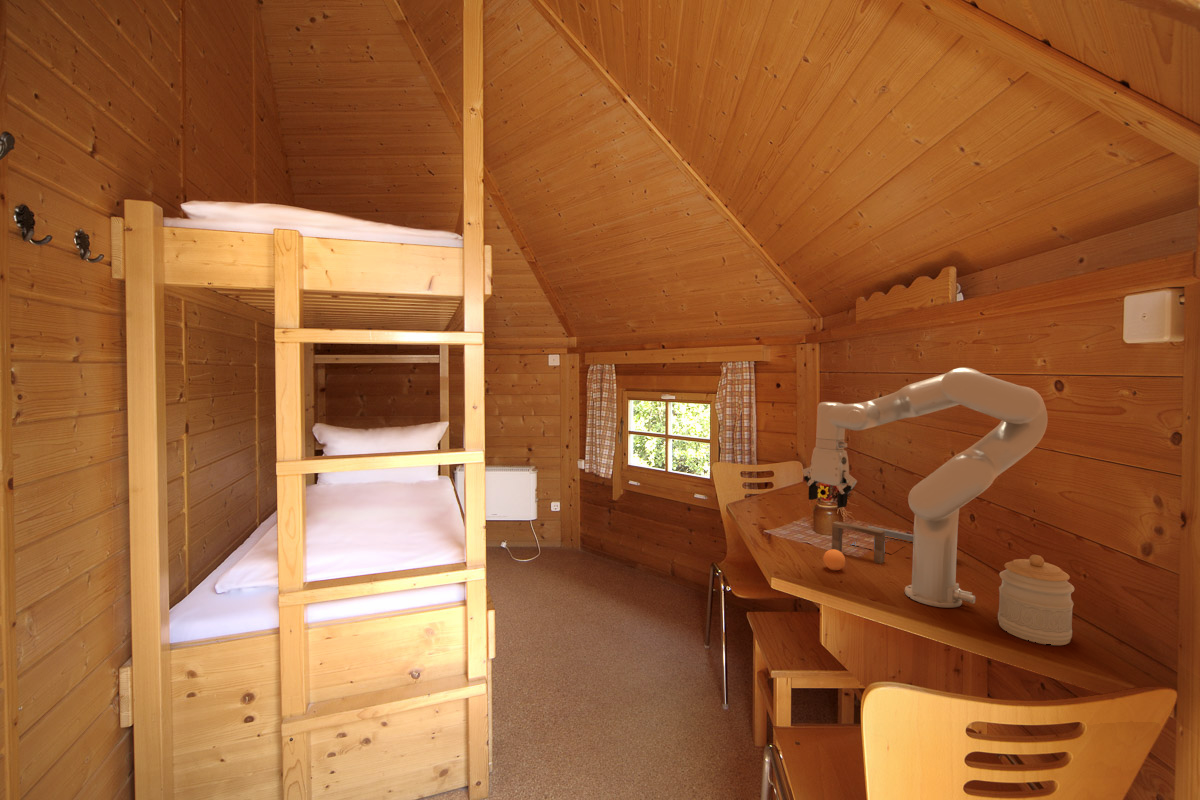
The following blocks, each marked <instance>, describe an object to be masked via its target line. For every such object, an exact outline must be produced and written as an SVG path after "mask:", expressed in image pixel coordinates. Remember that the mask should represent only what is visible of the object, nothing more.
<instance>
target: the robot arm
mask: <svg viewBox="0 0 1200 800" xmlns="http://www.w3.org/2000/svg"><path fill="white" fill-rule="evenodd" d="M959 405H961V406H963V407H966V408H968V409H970V410H973V411H977V412H978V413H982V414H984V415H987V416H990V417H992V418H995V419H998V420H999V421H1000V422H999V424H998V425H997V426H995V428H993V429H992V430H991V431H989V432H988V433H987V434H986V435H984V436H983V437H982V438H981V439H980V440H978V441H977V442H975V443H974V444H972V445H971V446H970V447H968V448H967V449H965V450H962V451H961V452H959V453H957V454H955V455H954V456H953V457H952V458H950V459H949V460H948V461H946V462H945V463H943V464H942V465H941V466H940V467H938V468H937V469H935V471H933V472H932V473H930V474H929V475H927V476H926V477H925V478H922V480H921V481H919V482H917V484H915V485H914V486H913V487H912V488H911V490H910V491H909V493H908V496H907V497H908V498H907V501H908V505H909V508H910V510H911V511H912V513H913V514H914V520H913V522H914V523H913V534H912V535H913V543H912V544H913V545H912V567H911V568H912V572H911V584H909V585H906V586H905V587H904V594H905V595H906V596H907V597H908V598H909V597H910V598H909V599H911V600H913V601H916V602H917V603H921V604H922V605H923V604H924V605H928V606H932V607H937V608H945V609H948V608H949V609H950V608H951V609H952V608H958V607H960V606H961V605H963V601H964V602H967V603H970V604H975V603H976V595H975V594H974V595H973V592H970V591H967V590H966V591H965V590H962V588H960V583H958V582H956V580H957V579H956V578H957V577H956V575H957V554H958V553H957V552H958V550H957V549H958V548H957V547H958V531H959V530H958V528H959V517H960V516H959V515H960V509H961V508H963V507H964V506H965V505H967V504H968V503H970V502H971V501H972V500H973V499H975V498H977V497H978V496H979V495H981V494H983V493H984V492H985V491H986V490H987V489H988V488H989V487H991V485H992V484H993V482H995V479H996V478H998V477H999V475H1001V474H1002V473H1003V472H1006V470H1008V469H1009V468H1010V467H1012V466H1013V465H1015V464H1016V463H1017V462H1019V461H1020V460H1021V459H1023V458H1024V457H1025V456H1027V454H1029V453H1030V452H1031V451H1032V450H1033V449H1034V448H1035V447H1037V446H1038V444H1039V443H1040V442H1041V440H1042V439H1043V438H1044V437H1043V436H1044V435H1045V433H1046V430H1047V427H1048V411H1047V408H1046V404H1045V402H1044V399H1043V397H1042V396H1041V394H1040V393H1039V392H1038V391H1037V390H1035V389H1033V388H1031V387H1028V386H1022V385H1019V384H1015V383H1013V382H1009V381H1006V380H1003V379H1000V378H996V377H994V376H991V375H988V374H985V373H983V372H980V371H979V370H977V369H975V368H971V367H956V368H954V369H951V370H950V371H948V372H946V373H941V374H939V375H936V376H934V377H930V378H927V379H924V380H920V381H917V382H913V383H910V384H907V385H905V386H903V387H901V388H900V389H899V390H897V391H895V392H892V393H890V394H887V395H883V396H881V397H878V398H874V399H871V400H867V401H863V402H856V403H855V402H854V403H842V402H838V401H837V402H836V401H822V402H819V403H818V405H817V412H816V413H817V414H816V434H815V435H816V436H815V437H816V439H815V447H814V448H813V450H812V455H811V462H810V466H808V467H806V468H803V469H802V471H801V472H802V476H803V478H804V480H805V482H806V485H807V487H808V500H810V501H812V500H817V499H818V495H819V494H818V493H819V492H818V491H819V490H818V489H819V487H818V485H817V484H819V483H821V484H826V485H828V486H836V488H837V490H838V491H839V493H837V508H846V507H847V504H848V494H849V493H850V492H851V491H852V490H854V488H855V486H856V485H857V483H858V480H857V479H856V478H854V477H853V476H852V475H851V474H850V465H849V457H848V452H847V450H845V448H848V443H847V442H845V439H846V438H845V433H846V429H847V430H852V431H863V430H866V429H871V428H874V427H878V426H881V425H885V424H888V423H891V422H896V421H898V420H899V421H900V420H903V419H907V418H916V417H919V416H923V415H927V414H931V413H934V412H939V411H941V410H946V409H949V408H952V407H956V406H959Z"/></svg>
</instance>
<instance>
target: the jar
mask: <svg viewBox="0 0 1200 800" xmlns="http://www.w3.org/2000/svg"><path fill="white" fill-rule="evenodd" d="M1003 566H1004V568H1005V570H1002V571H1000V572H999V577H1000V578H1001V585H1000V586H998V591H999V598H998V603H999V605H998V612H997V620H998V625H999V627H1000V628H1001V629H1002V630H1003V631H1005V632H1006V631H1007V632H1006V633H1008V634H1010V635H1013V636H1015V637H1017V638H1019V639H1022V640H1025V641H1028V640H1029V642H1032V643H1035V642H1036V644H1041V645H1046V644H1051V645H1050V646H1064V645H1067V644H1068V645H1069V644H1070V643H1071V640H1072V637H1073V628H1072V627H1073V626H1072V625H1073V624H1072V622H1073V606H1074V601H1073V600H1072V596H1071V595H1072V593H1073V592H1074V591H1075V586H1074V585H1072V583H1070V582H1069V580H1070V578H1071V576H1070V575H1069V574H1068V573H1067V572H1066V571H1064V570H1063V569H1062V568H1060V567H1058V566H1057V565H1054V564H1052V563H1049V562H1046V561H1045V559H1044V558H1043V557H1042V556H1041V555H1038V554H1032V555H1030V556H1029V558H1028V559H1026V558H1018V559H1013V560H1012V561H1008V562H1005V563H1004V565H1003Z"/></svg>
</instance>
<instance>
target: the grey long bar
mask: <svg viewBox="0 0 1200 800" xmlns="http://www.w3.org/2000/svg"><path fill="white" fill-rule="evenodd" d="M866 527H867V528H872V529H877V530H882V531H885V536H889V537H894V538H898V539H902V540H907V541H912V542H913V535H914V534H912V533H905V532H901V531H896V530H892V529H891V530H890V529H887V528H882V527H876V526H872V525H868V526H866Z"/></svg>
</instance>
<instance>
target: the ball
mask: <svg viewBox="0 0 1200 800" xmlns="http://www.w3.org/2000/svg"><path fill="white" fill-rule="evenodd" d="M822 559H823V563H824V566H825V567H826V568H828V569H829V570H830V571H840V570H842V569H843V568H844V567H845V565H846V558H845V555H844V554H843V552H840V551H838V550H835V549H832V548H831V549H829V550H827V551H825V553H824V554H823V557H822Z"/></svg>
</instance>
